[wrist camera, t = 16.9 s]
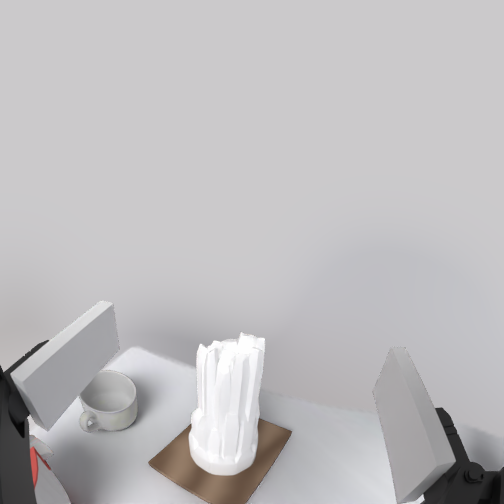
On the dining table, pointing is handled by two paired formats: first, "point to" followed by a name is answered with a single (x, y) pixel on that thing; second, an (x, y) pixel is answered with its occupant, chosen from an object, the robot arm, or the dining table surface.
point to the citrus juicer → (45, 475)
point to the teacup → (108, 402)
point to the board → (219, 486)
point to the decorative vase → (227, 405)
